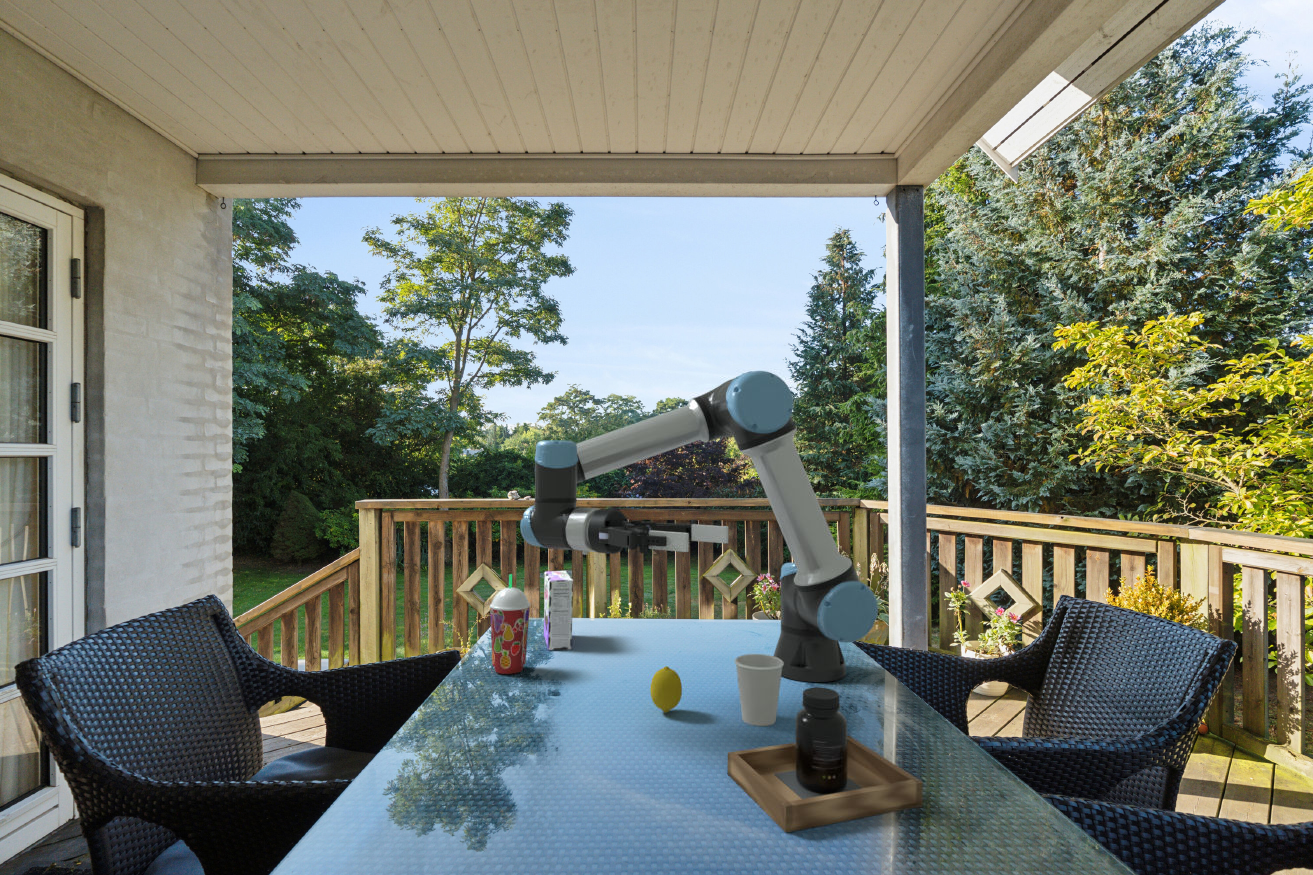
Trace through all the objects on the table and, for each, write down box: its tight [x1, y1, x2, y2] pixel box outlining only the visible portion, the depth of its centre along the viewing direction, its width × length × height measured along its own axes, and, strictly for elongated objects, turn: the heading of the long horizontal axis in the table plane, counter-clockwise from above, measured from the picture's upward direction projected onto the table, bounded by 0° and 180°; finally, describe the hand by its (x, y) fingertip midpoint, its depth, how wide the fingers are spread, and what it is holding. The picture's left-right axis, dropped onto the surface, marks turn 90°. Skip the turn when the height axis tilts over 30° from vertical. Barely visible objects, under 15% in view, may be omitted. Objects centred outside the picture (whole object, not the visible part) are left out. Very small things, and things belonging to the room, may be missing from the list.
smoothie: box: [489, 573, 531, 675], centre depth 143 cm, size 8×8×20 cm
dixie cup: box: [734, 653, 784, 727], centre depth 116 cm, size 8×8×10 cm
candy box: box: [543, 570, 574, 651], centre depth 165 cm, size 14×6×16 cm, turn 14°
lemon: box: [649, 665, 683, 714], centre depth 119 cm, size 6×6×8 cm
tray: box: [727, 734, 924, 834], centre depth 91 cm, size 20×16×3 cm
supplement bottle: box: [795, 686, 848, 793], centre depth 91 cm, size 7×7×12 cm
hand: (708, 538), depth 106 cm, fingers open, 13 cm apart
